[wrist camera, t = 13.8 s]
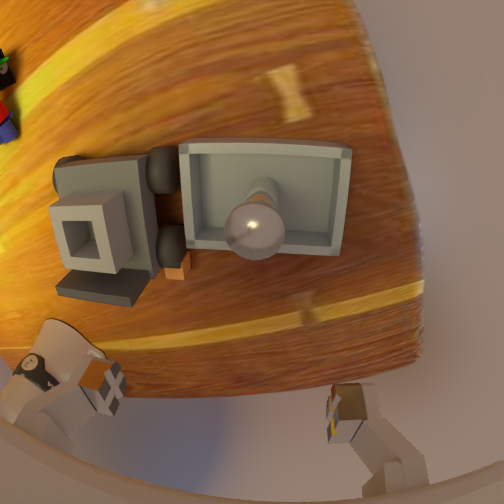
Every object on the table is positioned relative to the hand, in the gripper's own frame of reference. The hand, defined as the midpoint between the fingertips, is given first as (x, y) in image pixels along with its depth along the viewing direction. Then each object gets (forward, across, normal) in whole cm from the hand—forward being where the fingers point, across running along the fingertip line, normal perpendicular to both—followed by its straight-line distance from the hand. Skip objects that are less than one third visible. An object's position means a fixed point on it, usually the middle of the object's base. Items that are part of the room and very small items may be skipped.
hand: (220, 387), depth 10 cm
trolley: (+25, +17, +2) cm, 30 cm away
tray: (+25, 0, 0) cm, 25 cm away
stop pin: (+24, 0, 0) cm, 24 cm away
